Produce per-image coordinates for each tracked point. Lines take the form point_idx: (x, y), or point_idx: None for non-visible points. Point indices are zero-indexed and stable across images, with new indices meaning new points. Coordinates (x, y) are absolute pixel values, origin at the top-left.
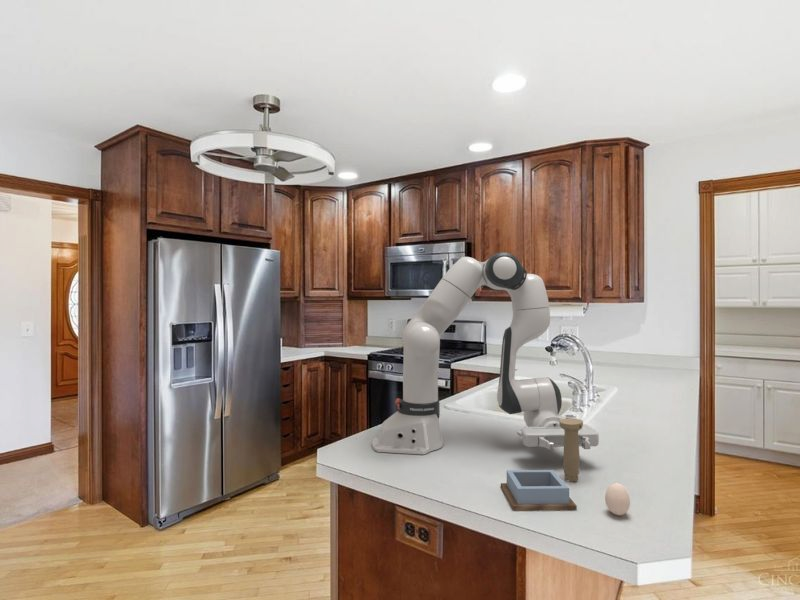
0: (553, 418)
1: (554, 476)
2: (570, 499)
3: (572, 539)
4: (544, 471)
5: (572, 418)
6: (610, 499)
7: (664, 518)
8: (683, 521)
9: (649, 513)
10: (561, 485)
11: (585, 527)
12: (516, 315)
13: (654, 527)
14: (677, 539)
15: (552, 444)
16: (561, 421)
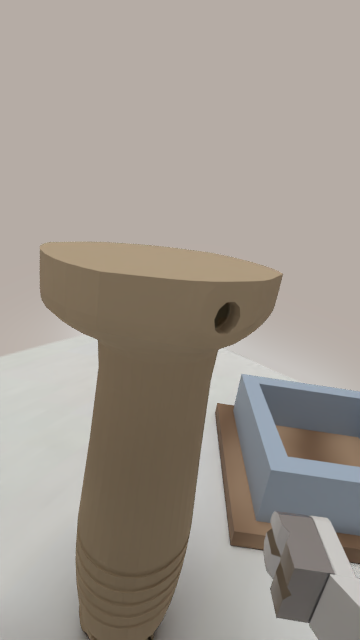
0: None
1: (273, 424)
2: (222, 424)
3: (252, 364)
4: (311, 462)
5: (92, 267)
6: None
7: (42, 365)
8: (17, 355)
9: (52, 378)
10: (259, 384)
11: (220, 376)
12: None
13: (94, 356)
14: (89, 338)
15: (286, 514)
16: (264, 272)
